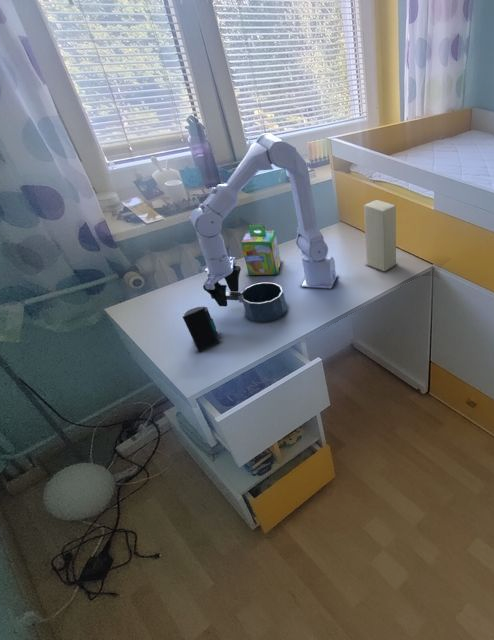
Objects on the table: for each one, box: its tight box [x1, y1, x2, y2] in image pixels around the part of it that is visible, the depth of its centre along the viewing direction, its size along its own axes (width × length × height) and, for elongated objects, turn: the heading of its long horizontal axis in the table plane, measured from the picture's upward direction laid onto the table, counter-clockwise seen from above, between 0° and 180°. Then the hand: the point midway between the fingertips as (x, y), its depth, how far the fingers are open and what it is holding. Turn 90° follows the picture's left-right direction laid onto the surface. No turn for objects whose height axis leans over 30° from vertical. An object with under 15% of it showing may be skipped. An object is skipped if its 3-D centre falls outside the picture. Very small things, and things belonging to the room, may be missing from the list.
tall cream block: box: [363, 199, 397, 272], centre depth 141 cm, size 8×7×21 cm
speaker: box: [182, 306, 220, 353], centre depth 109 cm, size 8×6×10 cm
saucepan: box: [210, 281, 287, 323], centre depth 121 cm, size 20×11×6 cm, turn 87°
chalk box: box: [240, 224, 282, 276], centre depth 137 cm, size 9×9×15 cm
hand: (229, 298), depth 121 cm, fingers open, 7 cm apart
